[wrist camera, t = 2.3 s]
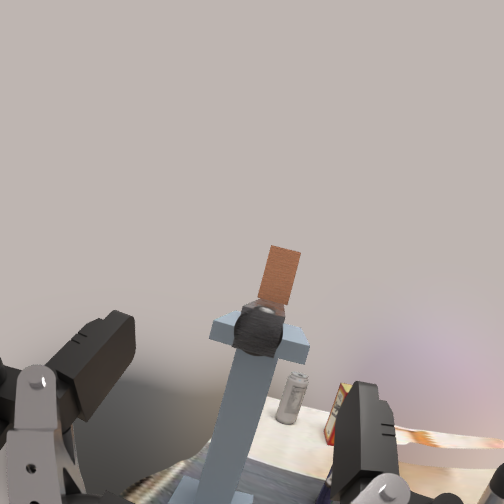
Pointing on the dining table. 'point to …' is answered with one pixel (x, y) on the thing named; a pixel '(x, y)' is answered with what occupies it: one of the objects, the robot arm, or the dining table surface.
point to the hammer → (267, 306)
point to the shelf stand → (237, 416)
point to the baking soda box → (335, 413)
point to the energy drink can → (292, 398)
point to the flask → (325, 491)
